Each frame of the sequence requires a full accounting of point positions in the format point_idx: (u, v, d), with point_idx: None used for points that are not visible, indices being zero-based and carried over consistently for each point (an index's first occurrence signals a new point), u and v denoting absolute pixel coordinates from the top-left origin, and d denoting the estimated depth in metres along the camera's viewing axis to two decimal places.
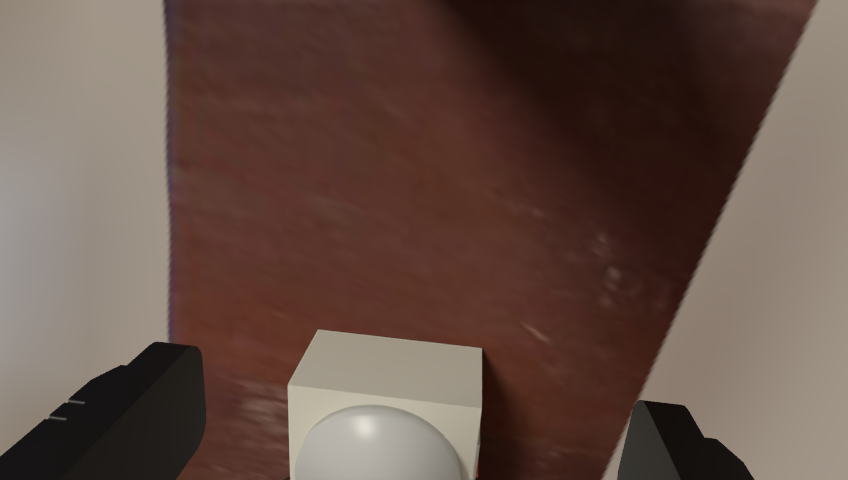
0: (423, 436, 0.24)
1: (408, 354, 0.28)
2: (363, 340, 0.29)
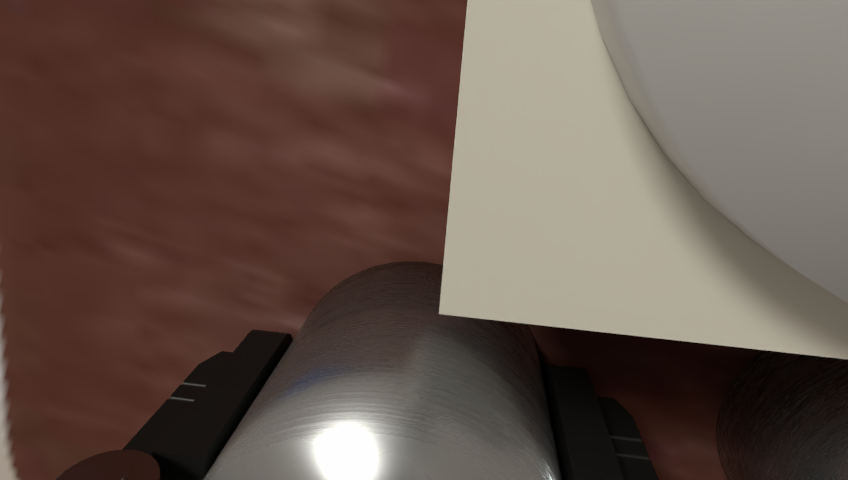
0: None
1: None
2: None
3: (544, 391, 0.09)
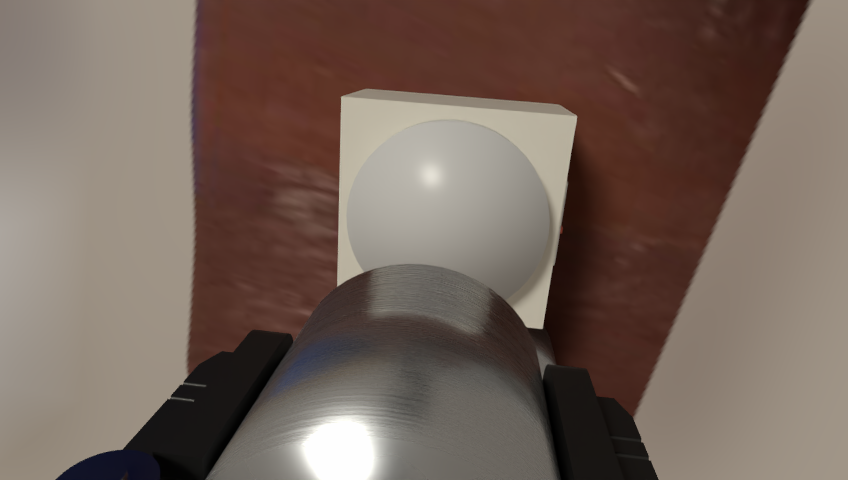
0: (507, 148, 0.20)
1: (476, 100, 0.24)
2: (421, 94, 0.25)
3: (544, 393, 0.09)
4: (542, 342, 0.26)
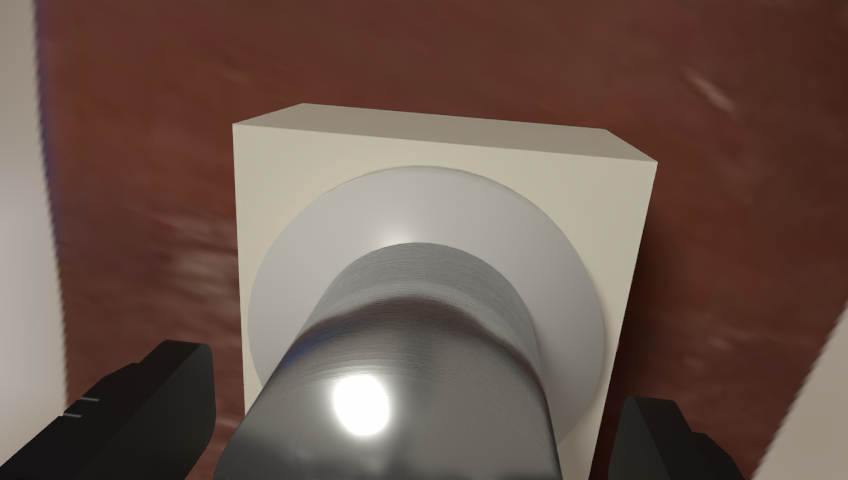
0: (530, 221, 0.11)
1: (473, 124, 0.15)
2: (387, 113, 0.16)
3: (538, 356, 0.10)
4: None
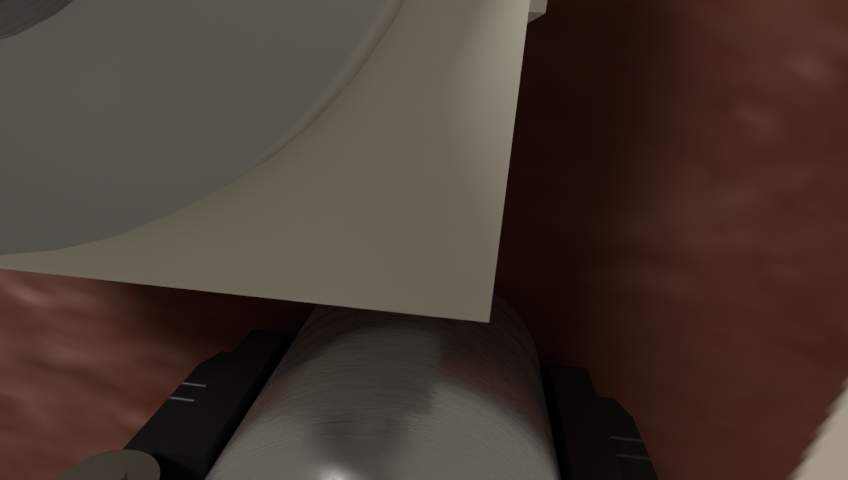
0: None
1: None
2: None
3: None
4: (507, 370, 0.08)
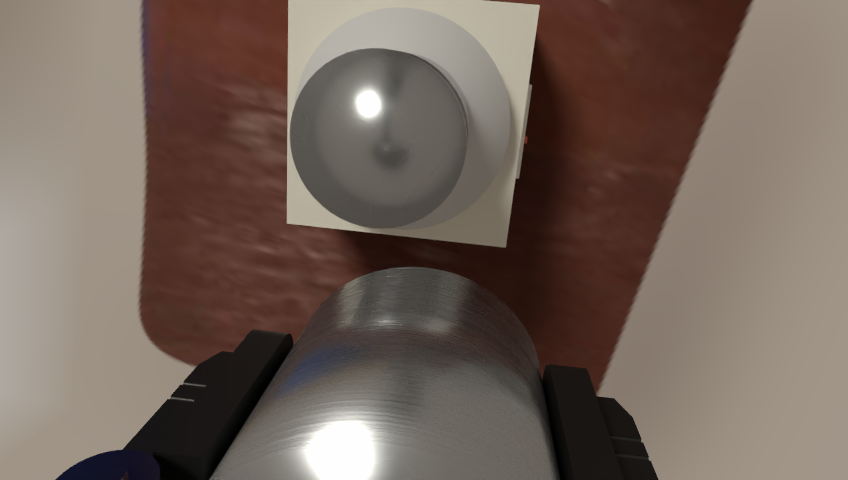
0: (464, 37, 0.19)
1: None
2: None
3: (465, 105, 0.18)
4: (507, 374, 0.08)
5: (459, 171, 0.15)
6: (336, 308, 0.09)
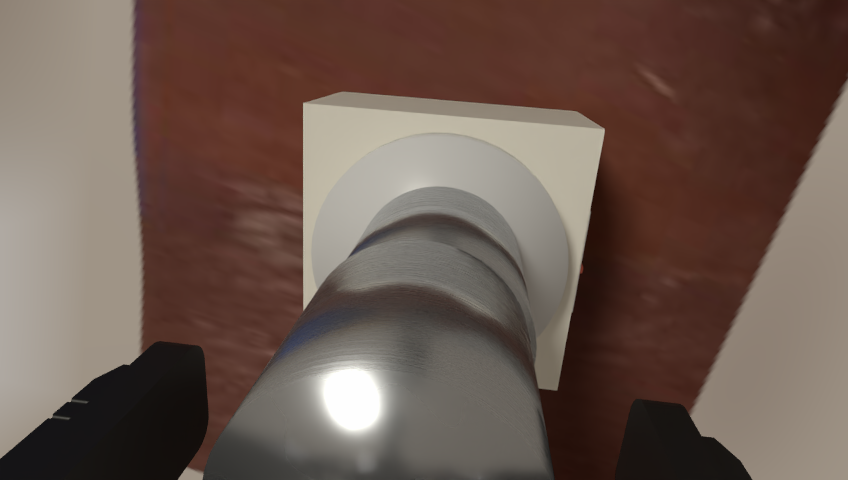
0: (515, 170, 0.16)
1: (475, 106, 0.19)
2: (408, 98, 0.20)
3: (520, 260, 0.15)
4: (496, 327, 0.09)
5: None
6: (343, 275, 0.10)
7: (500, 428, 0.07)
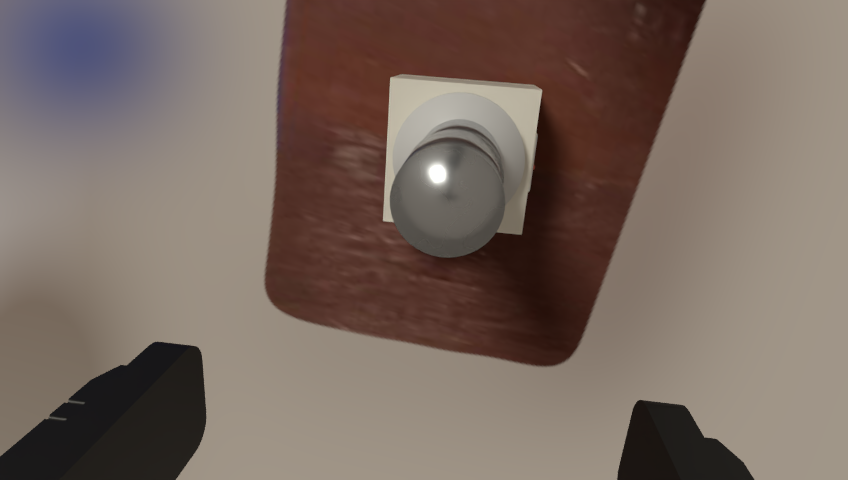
0: (497, 110, 0.32)
1: (477, 81, 0.35)
2: (439, 77, 0.36)
3: (499, 152, 0.31)
4: (485, 151, 0.25)
5: None
6: (426, 139, 0.26)
7: (486, 163, 0.23)
